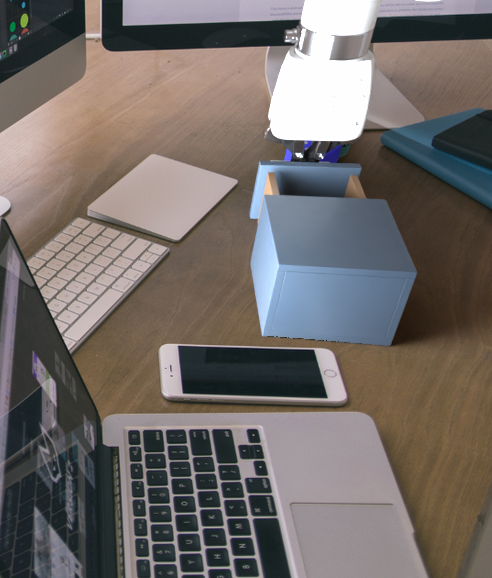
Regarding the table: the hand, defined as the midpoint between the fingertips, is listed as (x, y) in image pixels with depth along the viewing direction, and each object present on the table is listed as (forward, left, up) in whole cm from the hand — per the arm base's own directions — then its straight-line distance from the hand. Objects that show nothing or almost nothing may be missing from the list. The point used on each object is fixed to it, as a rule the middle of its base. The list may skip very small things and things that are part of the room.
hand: (299, 182), depth 98 cm
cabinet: (0, +18, -5) cm, 19 cm away
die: (-3, -10, -5) cm, 11 cm away
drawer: (0, +6, -4) cm, 7 cm away
